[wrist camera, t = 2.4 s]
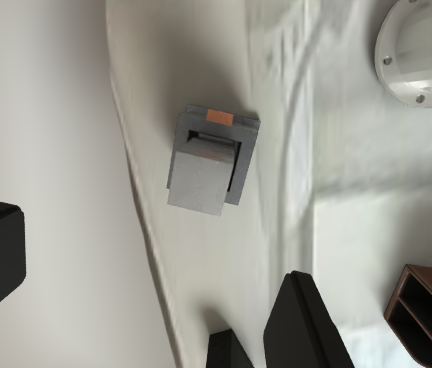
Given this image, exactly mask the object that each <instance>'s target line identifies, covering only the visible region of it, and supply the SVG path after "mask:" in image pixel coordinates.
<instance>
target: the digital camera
mask: <svg viewBox="0 0 432 368" xmlns="http://www.w3.org/2000/svg"><path fill="white" fill-rule="evenodd" d="M217 341H218V342H217ZM206 368H254V367H253V365H252V363H251V361H250V359H249V358H248V356H247V354H246V352H245V351H244V349H243V347H242V345H241V344H240V342H239V340H238V338H237V337H236V335H235V333H234V331H233V330H232V329H229V330H226V331H222V332H219V333H215V334H212V335H210V337H209V345H208V353H207V361H206Z"/></svg>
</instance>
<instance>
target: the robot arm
mask: <svg viewBox="0 0 432 368" xmlns="http://www.w3.org/2000/svg"><path fill="white" fill-rule="evenodd" d="M383 60H385V63H383ZM375 67H376V73H377V76H378V78H379V81H380V83H381V85H382V86H383V88H384V89H385V91H386V92H387V93H388V94H389V95H390V96H391V97H392V98H394V99H395V100H397V101H399V102H400V103H402V104H404V105H408V106H411V107H418V108H432V0H410V2H409V0H398V1H397V2H396V3H395V5H394V6H393V7H392V8H391V10H390V11H389V13H388V15H387V16H386V18H385V20H384V22H383V24H382V26H381V29H380V31H379V34H378V37H377V42H376V47H375ZM416 98H417V99H416ZM25 277H26V255H25V222H24V213H23V212H22V211H21V209H20V207H19V206H17V205H13V204H8V203H4V202H0V302H1V301H2V300H3V299H4V298H5V297H6V296H8V295H9V294H10V293H11V292H12V291H14V290H15V289H16V288H17V287H18V286H20V284H22V282H23V281H24V279H25ZM263 342H264V350H265V358H266V366H267V368H355V367H354V365H353V362H352V360H351V358H350V356H349V354H348V352H347V349H346V347H345V345H344V343H343V341H342V339H341V336H340V334H339V332H338V330H337V328H336V326H335V324H334V323H333V322H332V320H331V318H330V316H329V313H328V311H327V309H326V307H325V305H324V302H323V300H322V298H321V296H320V293H319V291H318V289H317V287H316V285H315V282H314V280H313V278H312V276H311V275H310V274H307V273H303V272H299V271H292V272H291V274H288V273H287V274H286V275H285V277H284V280H283V283H282V285H281V288H280V290H279V293H278V296H277V298H276V301H275V304H274V306H273V309H272V311H271V314H270V317H269V319H268V322H267V325H266V327H265V330H264V336H263Z"/></svg>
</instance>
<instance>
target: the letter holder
mask: <svg viewBox="0 0 432 368" xmlns="http://www.w3.org/2000/svg"><path fill="white" fill-rule="evenodd" d="M384 319H385V320H386V322H387V323H388V325H389V326H390V328H391V329H392V331H393V332H394V333H395V335H396V336H397V337H398V339H399V340H400V342H401V343H402V344H403V346H404V347H405V349H406V350H407V351H408V353H409V354H410V356H411V357H412V358H413V359H414V360H415V361H416V362H417V363H418V364H420V365H421V366H423V367H426V368H432V268H428V267H421V266H414V265H408V264H407V265H406V266H405V268H404V270H403V272H402V275H401V277H400V279H399V282H398V284H397V286H396V289H395V291H394V293H393V295H392V298H391V300H390V302H389V305H388V307H387V309H386V312H385V314H384Z"/></svg>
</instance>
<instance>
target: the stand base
mask: <svg viewBox="0 0 432 368" xmlns="http://www.w3.org/2000/svg"><path fill="white" fill-rule="evenodd" d="M260 122H261V121H259V120H255V119H250V118H246V117H242V116H238V115H234V114H230V113H225V112H221V111H217V110H213V109H208V108H204V107H200V106H195V105H191V104H187V109H186V113H180V114H179V116H178V122H177V128H176V134H175V140H174V146H173V152H172V158H171V164H170V170H169V176H168V182H167V189H170V185H171V179H172V173H173V167H174V161H175V155H176V151H177V150H178V149H180V148H181V147H182V146H184V145H185V144H186V143H187V142H188V141H190V140H191V139H192V138H194V137H195V136H196V135H197V134H199V133H200V132H201V133H206V134H210V135H214V136H218V137H223V138H227V139H231V140H235V141H236V143H235V150H234V165H233V169H232V173H231V177H230V181H229V185H228V189H227V193H226V197H225V201H224V202H226V203H230V204H234V205H238V204H239V200H240V197H241V193H242V189H243V186H244V182H245V179H246V175H247V171H248V168H249V164H250V160H251V157H252V153H253V150H254V146H255V142H256V139H257V135H258V130H259V126H260Z"/></svg>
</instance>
